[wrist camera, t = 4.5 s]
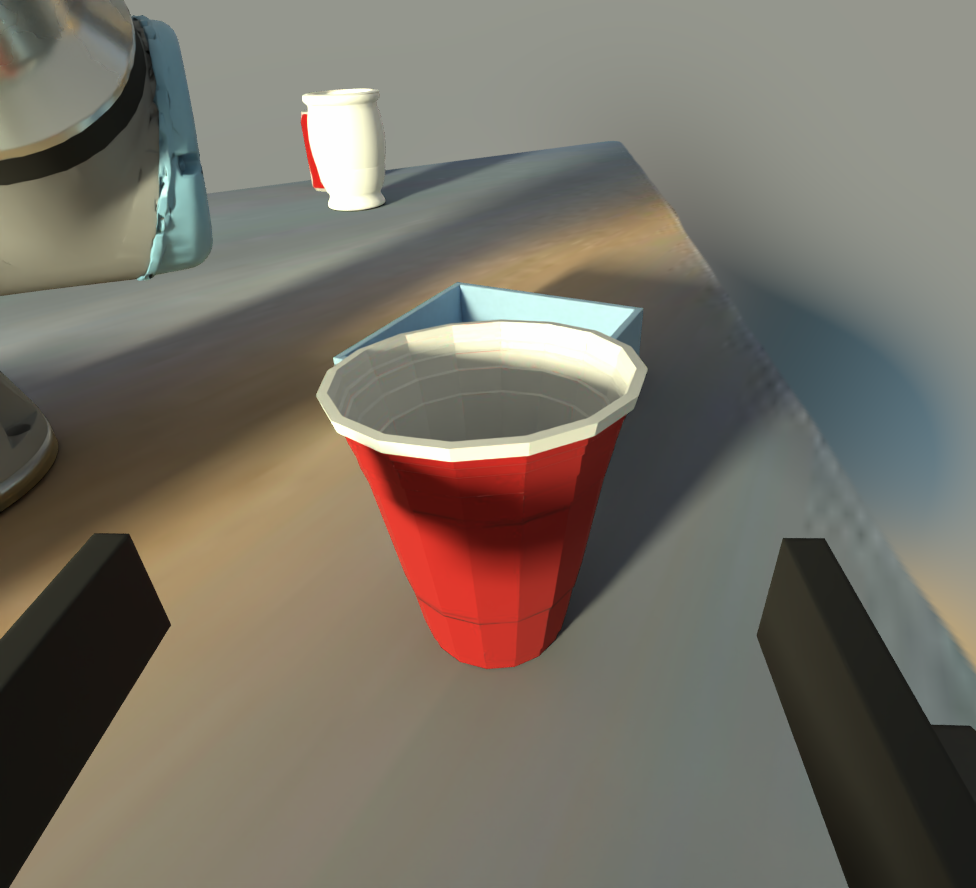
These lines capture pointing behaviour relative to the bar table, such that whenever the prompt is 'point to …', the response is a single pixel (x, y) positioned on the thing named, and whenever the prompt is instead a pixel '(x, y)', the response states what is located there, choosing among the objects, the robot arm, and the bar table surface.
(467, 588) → the plastic cup
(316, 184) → the soda can
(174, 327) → the bar table surface
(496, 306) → the tray
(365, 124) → the jar
